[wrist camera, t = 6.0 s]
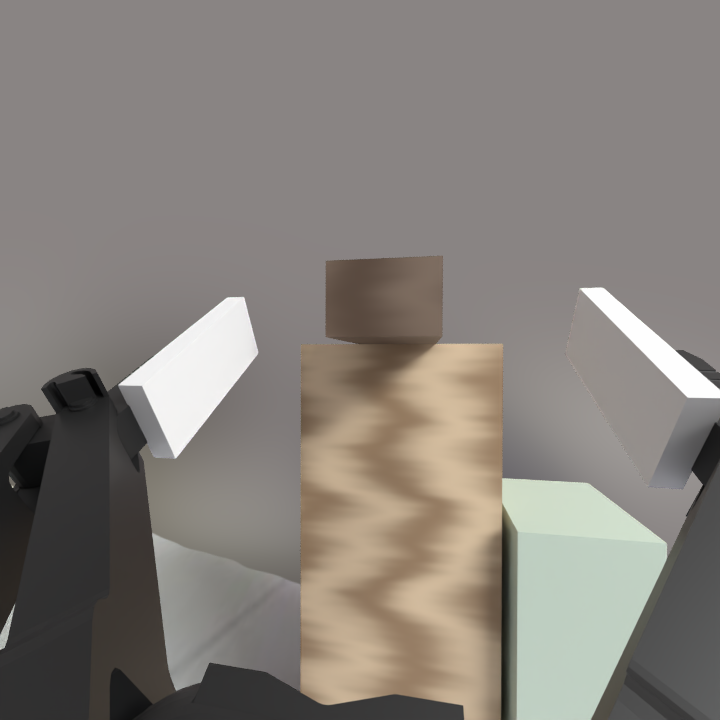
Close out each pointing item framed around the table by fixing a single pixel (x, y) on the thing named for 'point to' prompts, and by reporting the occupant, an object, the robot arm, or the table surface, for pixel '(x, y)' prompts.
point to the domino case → (385, 300)
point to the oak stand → (402, 523)
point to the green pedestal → (568, 595)
